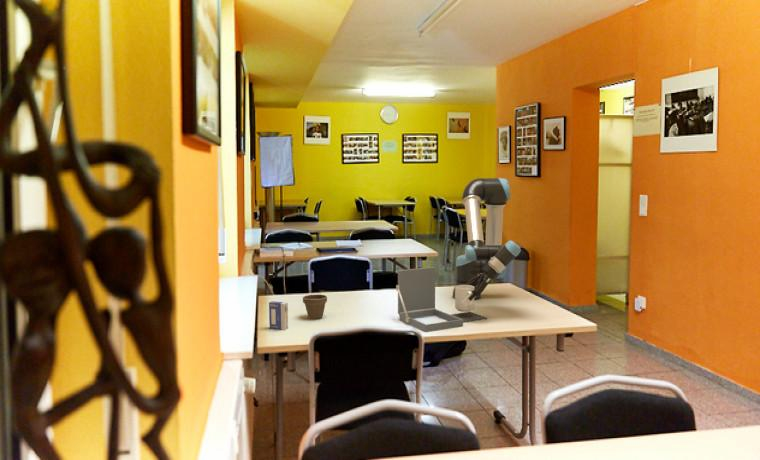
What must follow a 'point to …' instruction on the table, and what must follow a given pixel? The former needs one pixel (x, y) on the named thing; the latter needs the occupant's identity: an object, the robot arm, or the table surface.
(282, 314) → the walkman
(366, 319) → the table surface
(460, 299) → the mug
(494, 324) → the table surface
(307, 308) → the flower pot
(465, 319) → the rubber mat
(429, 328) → the equipment case
